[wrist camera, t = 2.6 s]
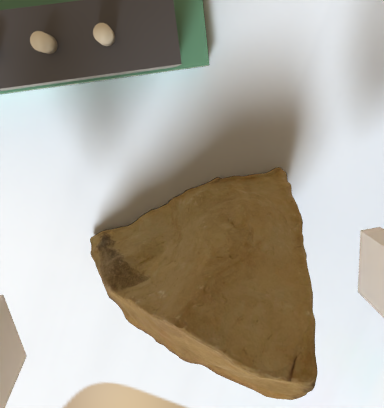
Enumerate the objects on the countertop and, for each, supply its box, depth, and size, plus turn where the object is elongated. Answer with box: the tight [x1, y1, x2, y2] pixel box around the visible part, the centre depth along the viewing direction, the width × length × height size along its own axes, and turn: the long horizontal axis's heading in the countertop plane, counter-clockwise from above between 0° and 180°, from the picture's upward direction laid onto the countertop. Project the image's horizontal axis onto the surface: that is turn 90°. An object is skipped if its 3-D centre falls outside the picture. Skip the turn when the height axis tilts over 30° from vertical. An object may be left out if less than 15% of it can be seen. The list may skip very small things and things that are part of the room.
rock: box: [90, 168, 317, 400], centre depth 16 cm, size 11×9×10 cm
